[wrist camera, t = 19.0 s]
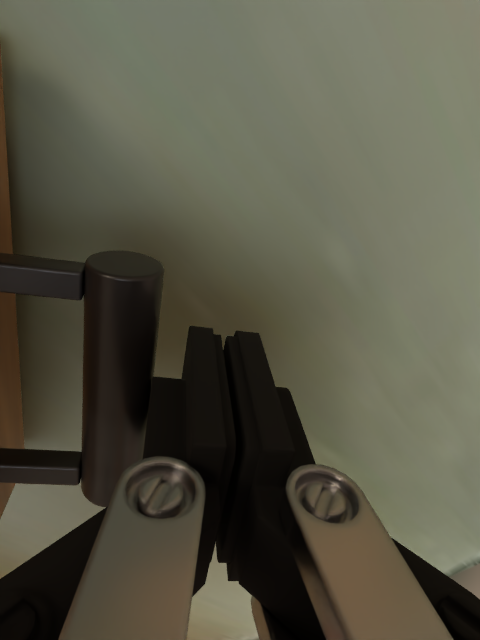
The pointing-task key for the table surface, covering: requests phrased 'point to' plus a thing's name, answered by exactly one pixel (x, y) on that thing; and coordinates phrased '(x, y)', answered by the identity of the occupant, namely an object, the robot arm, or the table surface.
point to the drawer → (98, 358)
